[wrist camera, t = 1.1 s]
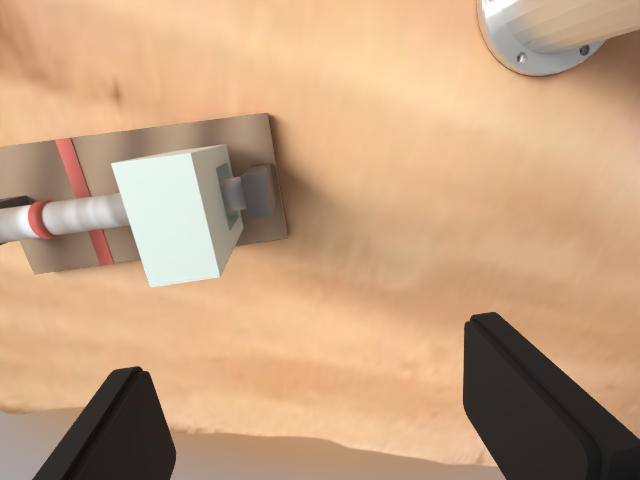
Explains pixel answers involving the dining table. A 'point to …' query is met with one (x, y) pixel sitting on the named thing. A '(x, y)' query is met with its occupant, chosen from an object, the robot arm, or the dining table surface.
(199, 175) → the sleeve block
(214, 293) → the dining table surface
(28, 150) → the rod stand
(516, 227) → the dining table surface
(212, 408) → the dining table surface
